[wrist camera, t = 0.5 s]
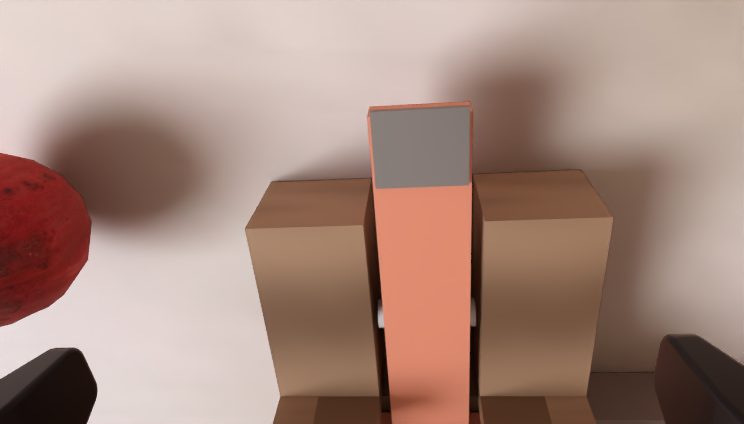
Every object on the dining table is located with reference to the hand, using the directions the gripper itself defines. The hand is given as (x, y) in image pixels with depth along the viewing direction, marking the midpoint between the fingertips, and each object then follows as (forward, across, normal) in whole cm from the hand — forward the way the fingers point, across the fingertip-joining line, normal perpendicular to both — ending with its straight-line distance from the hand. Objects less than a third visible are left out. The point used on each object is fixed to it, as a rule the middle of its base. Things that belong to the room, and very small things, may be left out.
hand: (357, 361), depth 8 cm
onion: (+12, +14, +2) cm, 18 cm away
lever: (+10, -1, +9) cm, 13 cm away
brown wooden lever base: (+12, -1, +12) cm, 17 cm away
